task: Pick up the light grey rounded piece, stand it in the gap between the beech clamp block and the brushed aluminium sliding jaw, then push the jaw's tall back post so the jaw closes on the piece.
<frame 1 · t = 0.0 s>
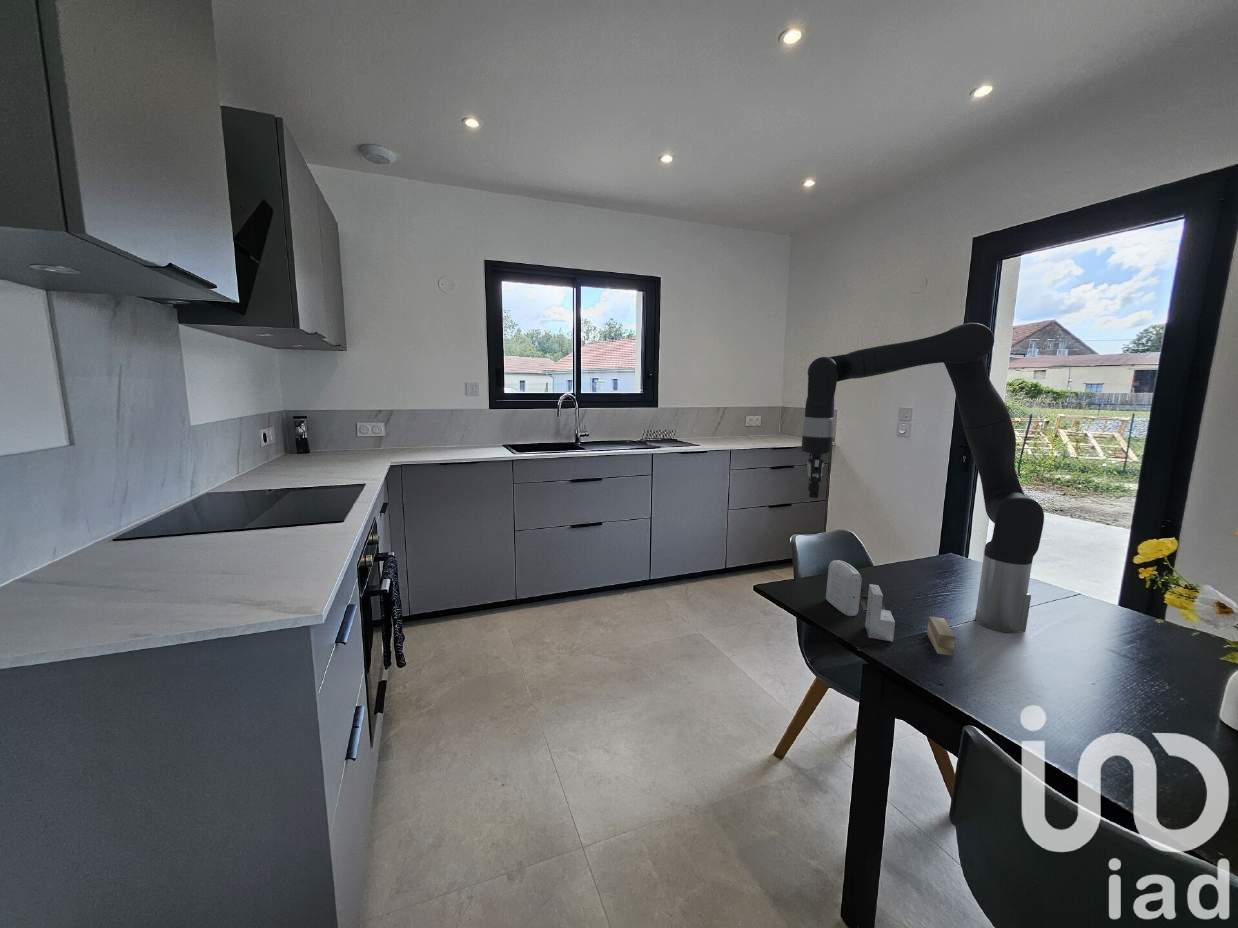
hand: (812, 494, 130), 29 cm above the table, tool pointing down, fingers open, 8 cm apart
clamp block: (939, 644, 110), on the table
light grey rounded piece: (841, 608, 129), on the table
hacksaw: (881, 609, 129), on the table
clamp jaw: (880, 612, 114), point 6 cm above the table, slide at 0.0 cm
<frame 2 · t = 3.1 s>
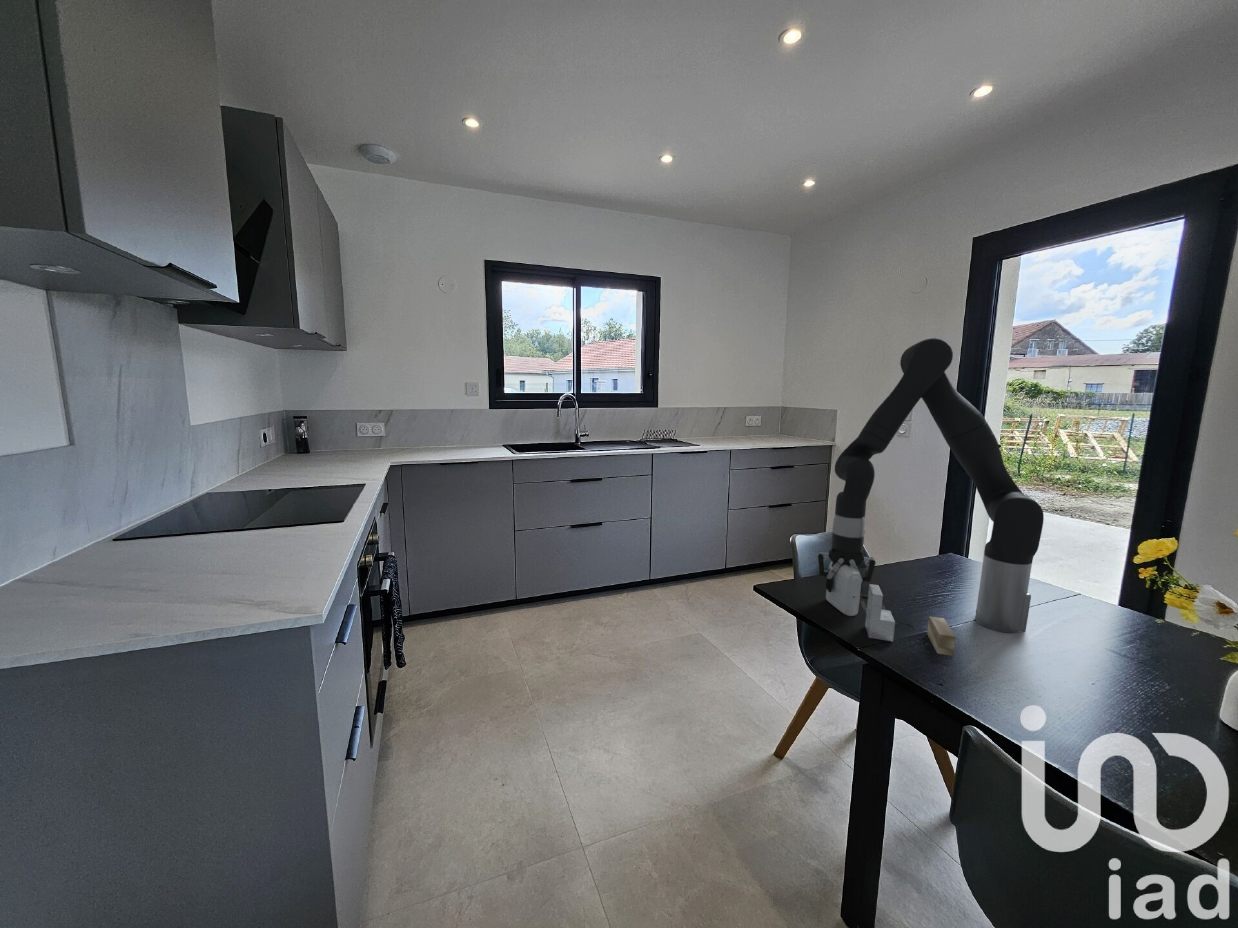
hand: (842, 592, 128), 4 cm above the table, tool pointing down, fingers closed on light grey rounded piece, 6 cm apart
light grey rounded piece: (841, 607, 129), on the table, touching gripper
everything else where it was.
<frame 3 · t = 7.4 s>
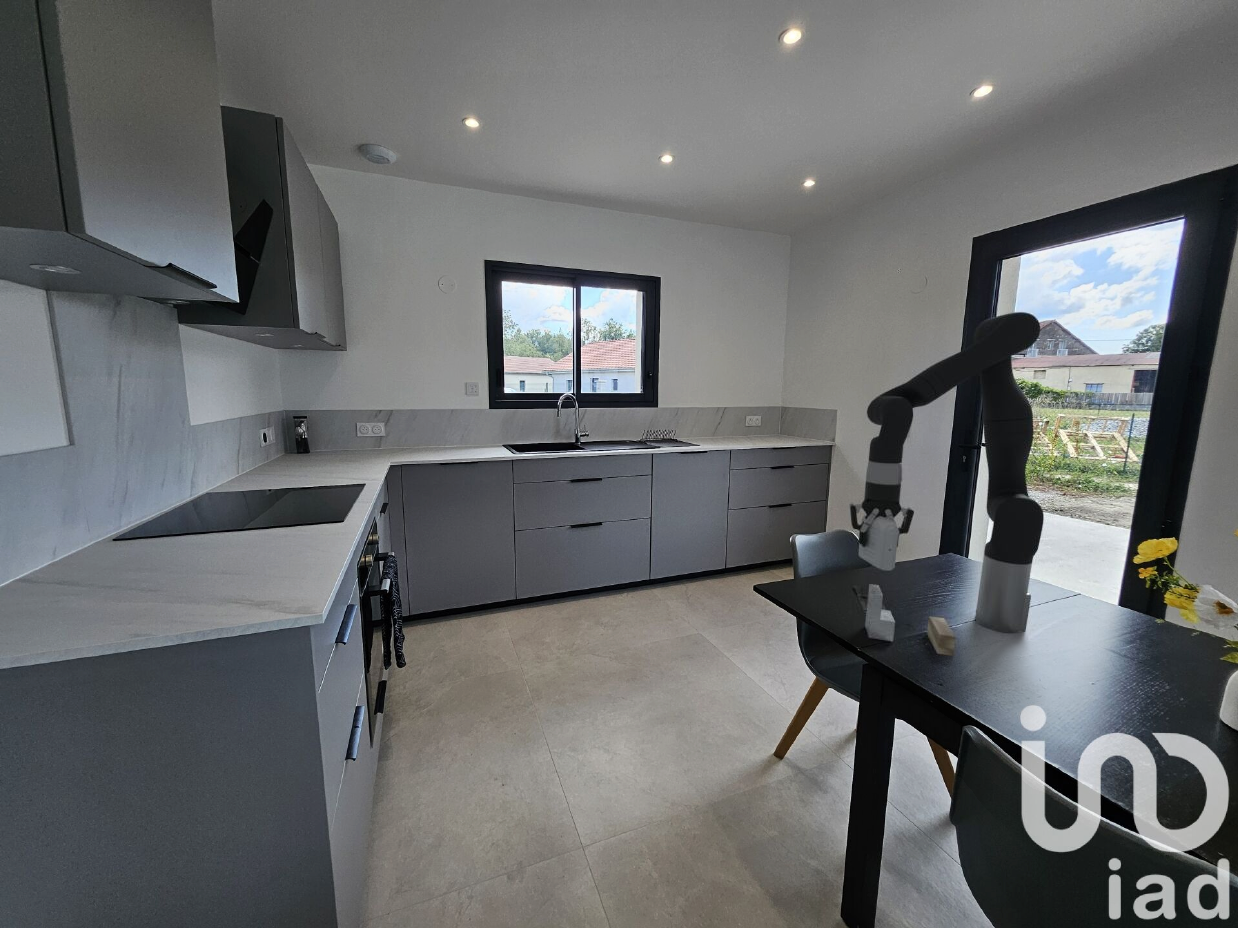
hand: (877, 547, 119), 19 cm above the table, tool pointing down, fingers closed on light grey rounded piece, 5 cm apart
light grey rounded piece: (875, 563, 119), point 15 cm above the table, touching gripper
everything else where it was.
when the fingers open (5 cm above the table, at t = 12.1 s): light grey rounded piece drops 1 cm, on the table.
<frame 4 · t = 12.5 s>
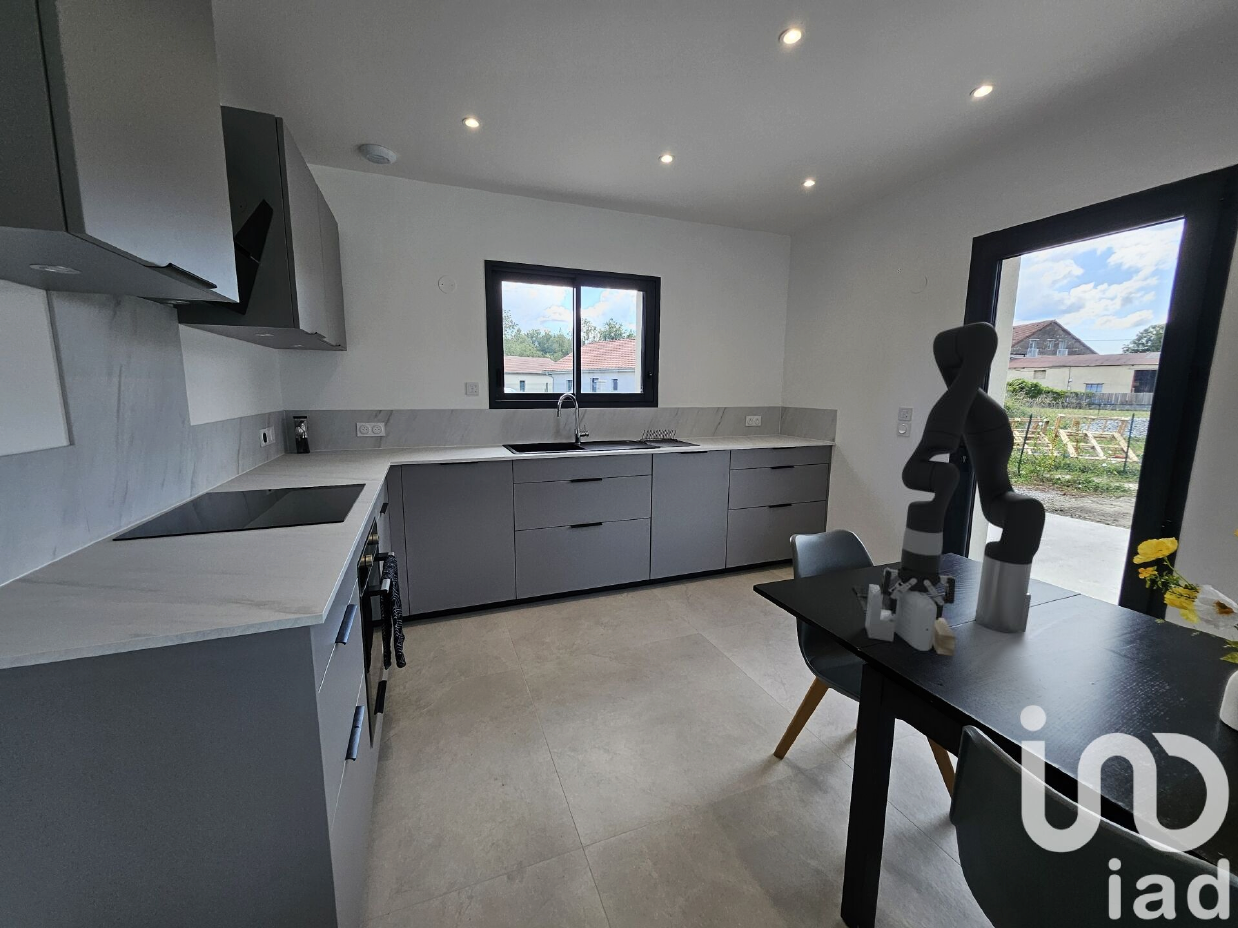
hand: (913, 615, 111), 6 cm above the table, tool pointing down, fingers open, 8 cm apart
light grey rounded piece: (910, 640, 112), on the table
everything else where it was.
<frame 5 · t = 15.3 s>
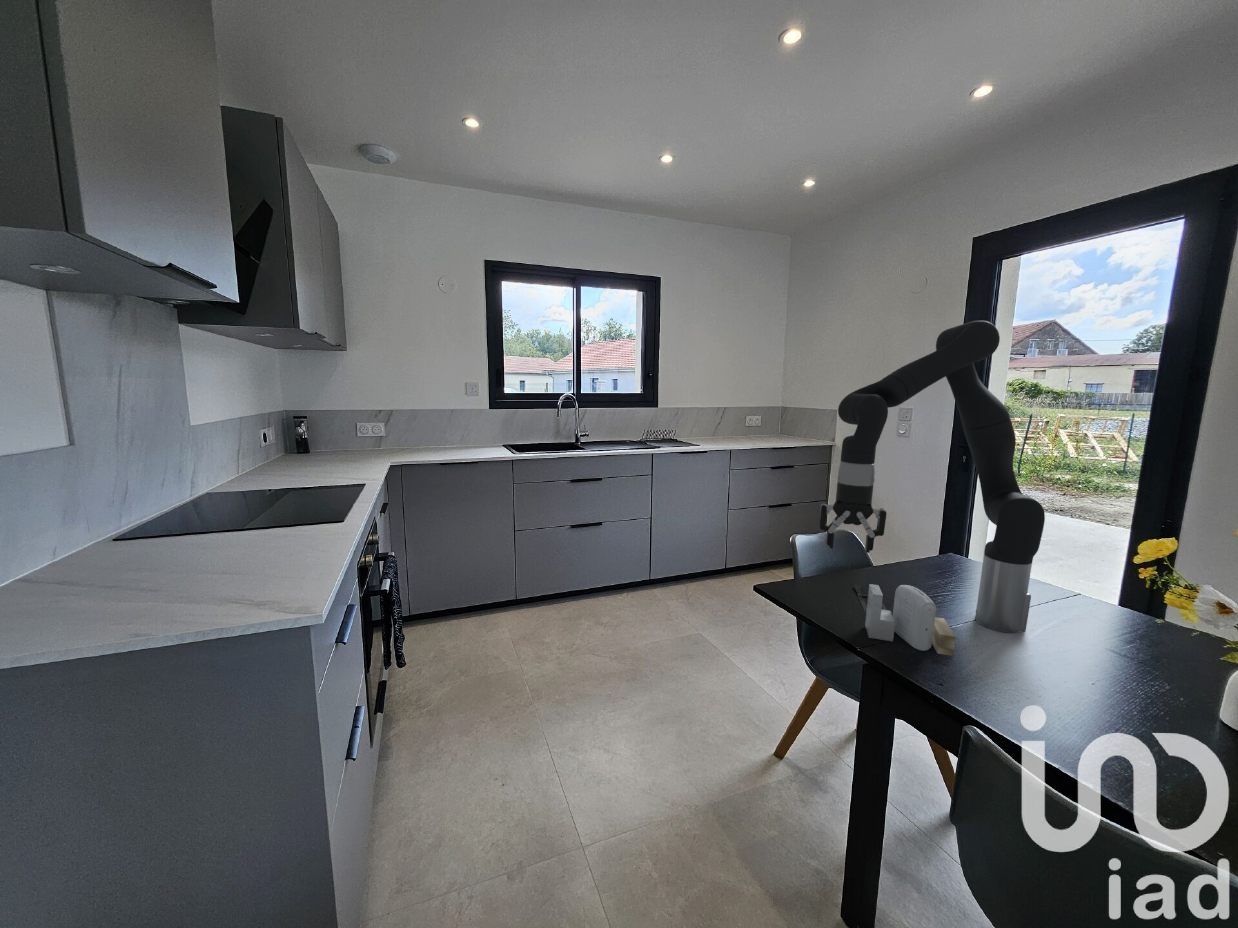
hand: (848, 549, 114), 20 cm above the table, tool pointing down, fingers open, 7 cm apart
light grey rounded piece: (910, 640, 113), on the table, touching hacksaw
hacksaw: (881, 609, 129), on the table, touching light grey rounded piece
everything else where it was.
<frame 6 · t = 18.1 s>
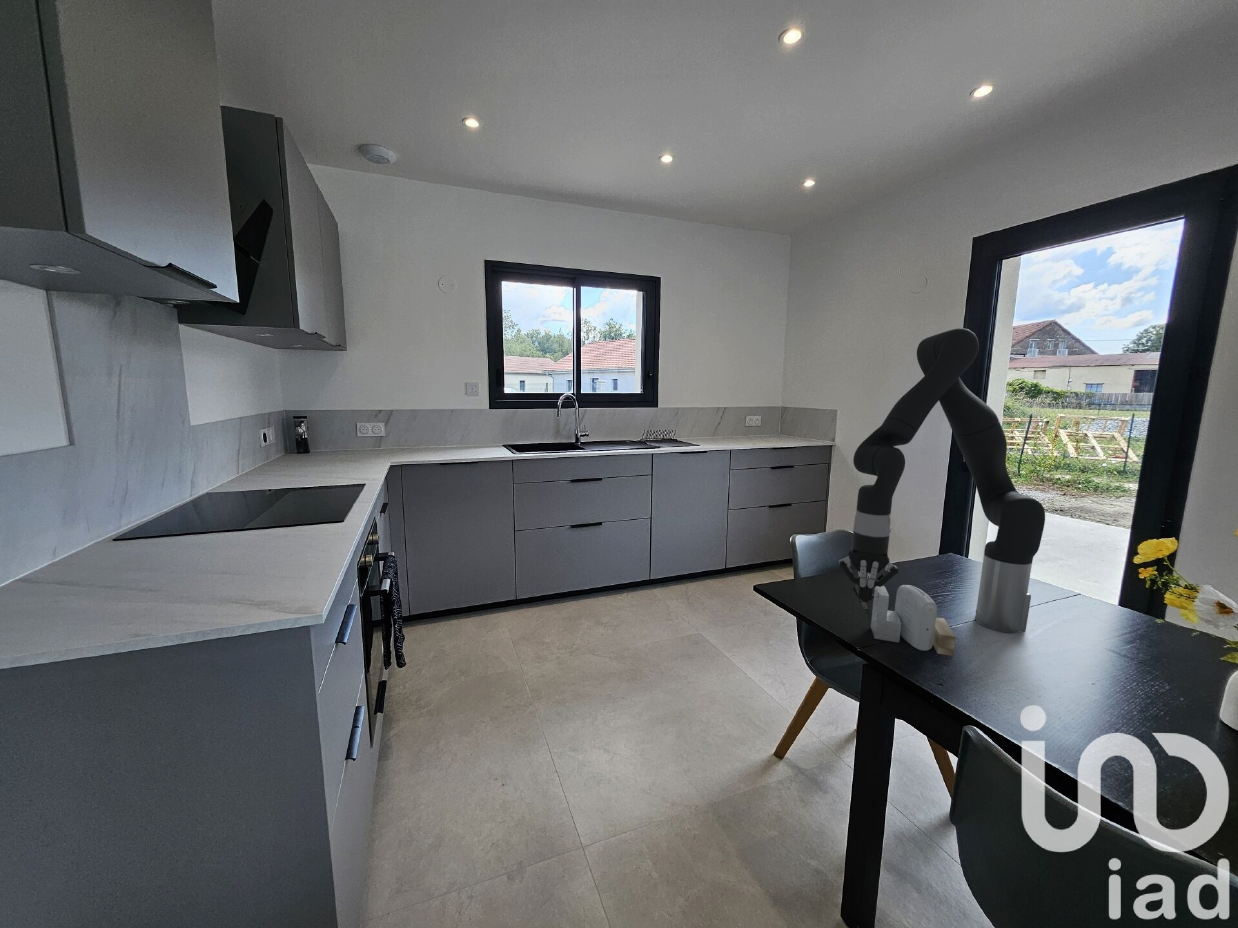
hand: (864, 600, 115), 8 cm above the table, tool pointing down, fingers closed
light grey rounded piece: (911, 640, 113), on the table, touching clamp jaw
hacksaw: (881, 609, 129), on the table
clamp jaw: (886, 612, 113), point 6 cm above the table, slide at 1.3 cm, touching gripper, light grey rounded piece
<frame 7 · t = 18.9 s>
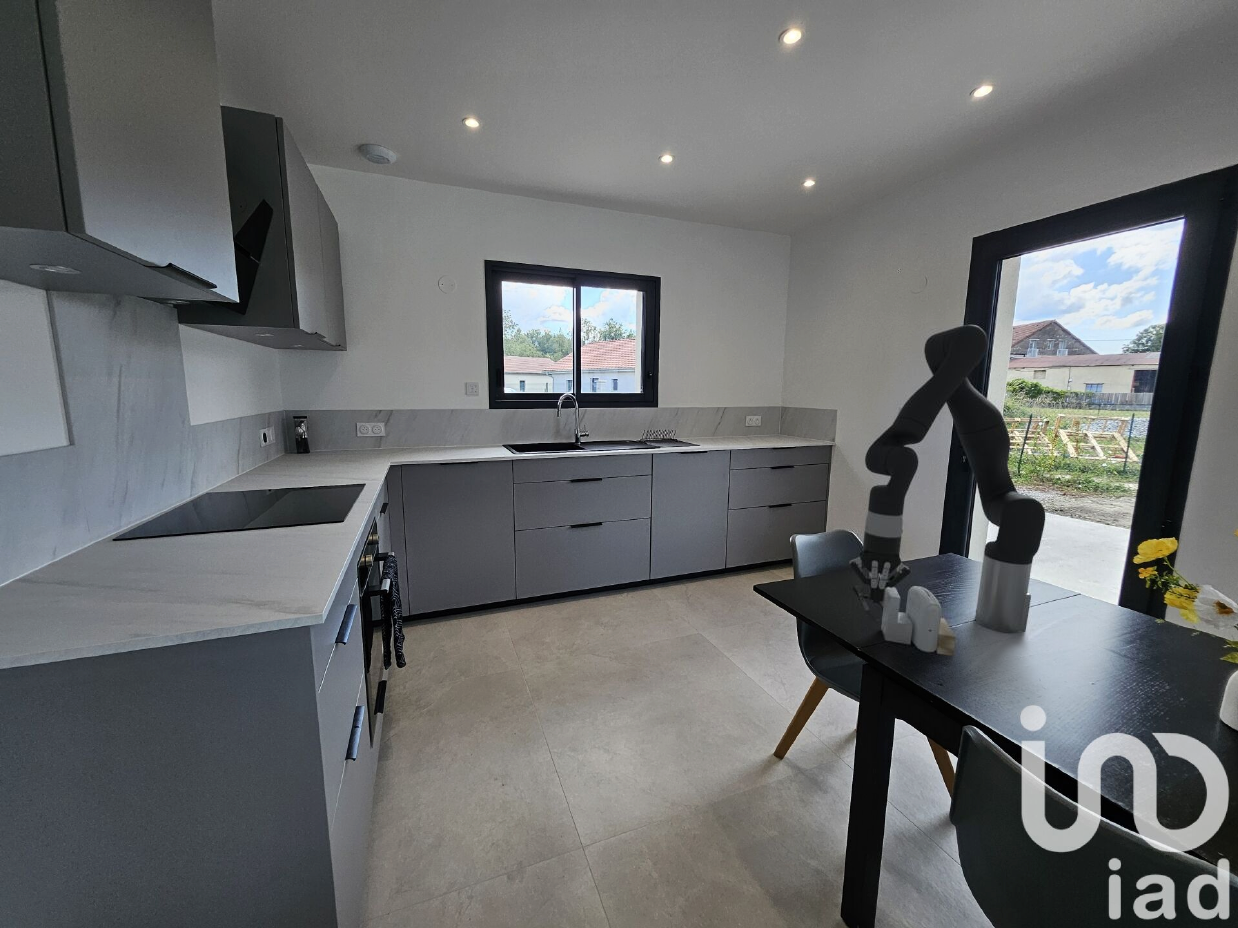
hand: (875, 601, 114), 8 cm above the table, tool pointing down, fingers closed
light grey rounded piece: (919, 641, 112), on the table, touching clamp jaw, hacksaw
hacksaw: (882, 609, 129), on the table, touching light grey rounded piece
clamp jaw: (897, 614, 113), point 6 cm above the table, slide at 3.5 cm, touching gripper, light grey rounded piece
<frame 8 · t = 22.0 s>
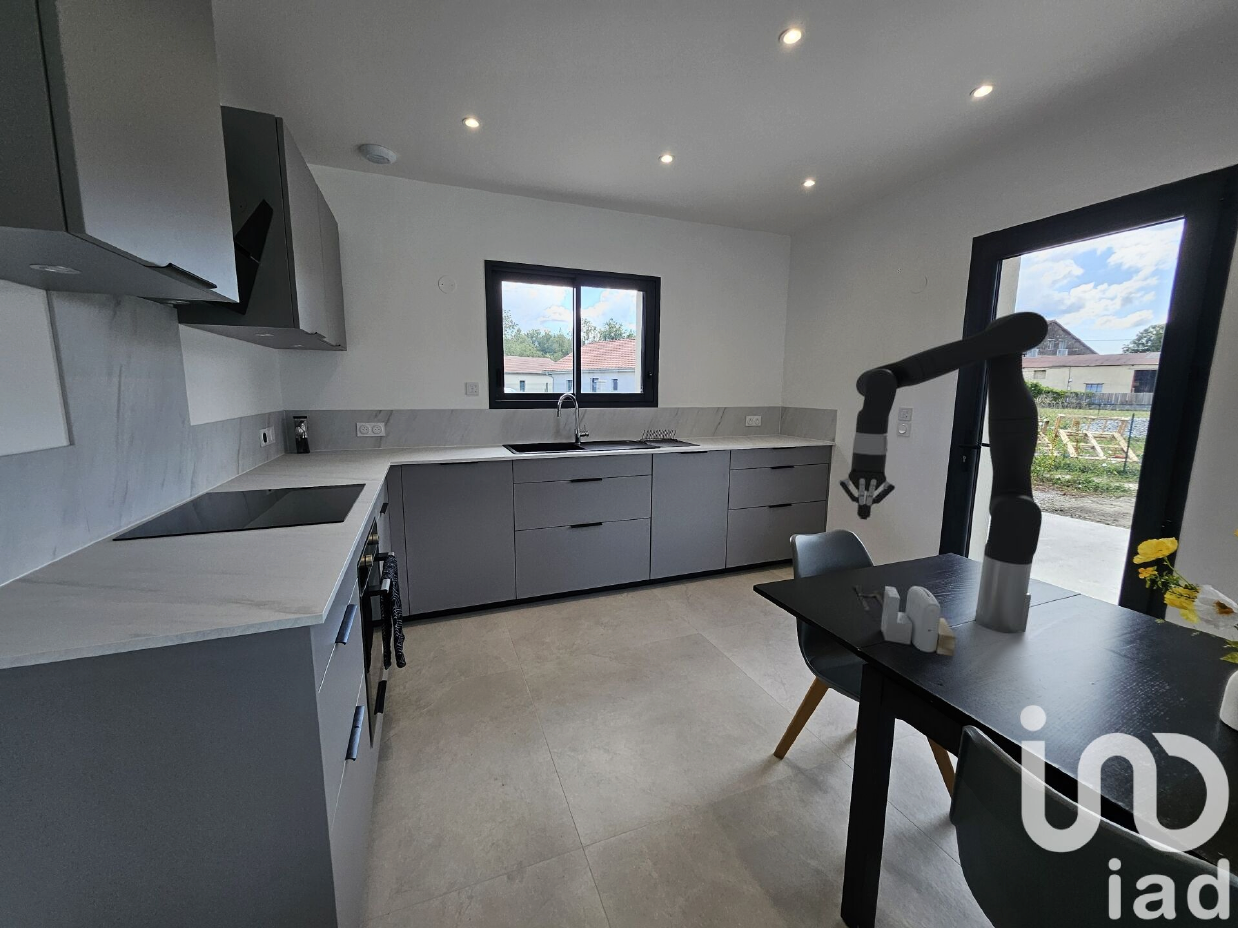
hand: (863, 518, 123), 25 cm above the table, tool pointing down, fingers closed
light grey rounded piece: (918, 641, 112), on the table
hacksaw: (882, 608, 129), on the table
clamp jaw: (897, 614, 113), point 6 cm above the table, slide at 3.4 cm
at the end: clamp jaw slide at 3.4 cm; light grey rounded piece inside the target area (1.4 cm from its centre), on the table; light grey rounded piece tilted 0° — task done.
